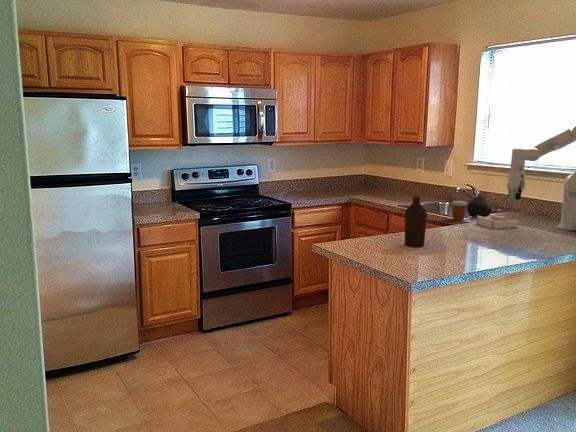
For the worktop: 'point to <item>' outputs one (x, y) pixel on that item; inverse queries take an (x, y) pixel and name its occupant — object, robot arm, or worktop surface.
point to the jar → (513, 195)
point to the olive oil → (415, 223)
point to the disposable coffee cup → (458, 210)
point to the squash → (479, 207)
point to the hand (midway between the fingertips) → (514, 198)
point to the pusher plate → (498, 218)
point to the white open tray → (495, 222)
